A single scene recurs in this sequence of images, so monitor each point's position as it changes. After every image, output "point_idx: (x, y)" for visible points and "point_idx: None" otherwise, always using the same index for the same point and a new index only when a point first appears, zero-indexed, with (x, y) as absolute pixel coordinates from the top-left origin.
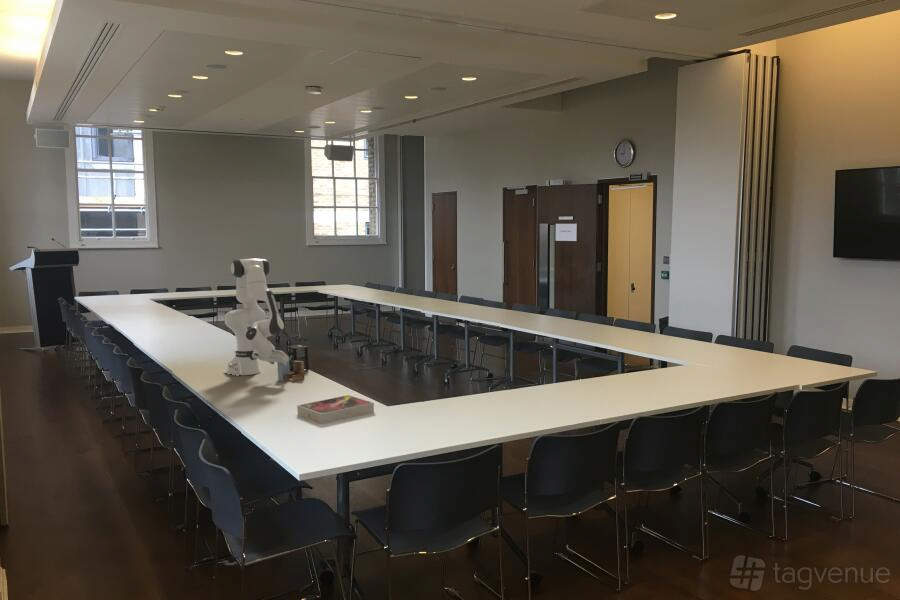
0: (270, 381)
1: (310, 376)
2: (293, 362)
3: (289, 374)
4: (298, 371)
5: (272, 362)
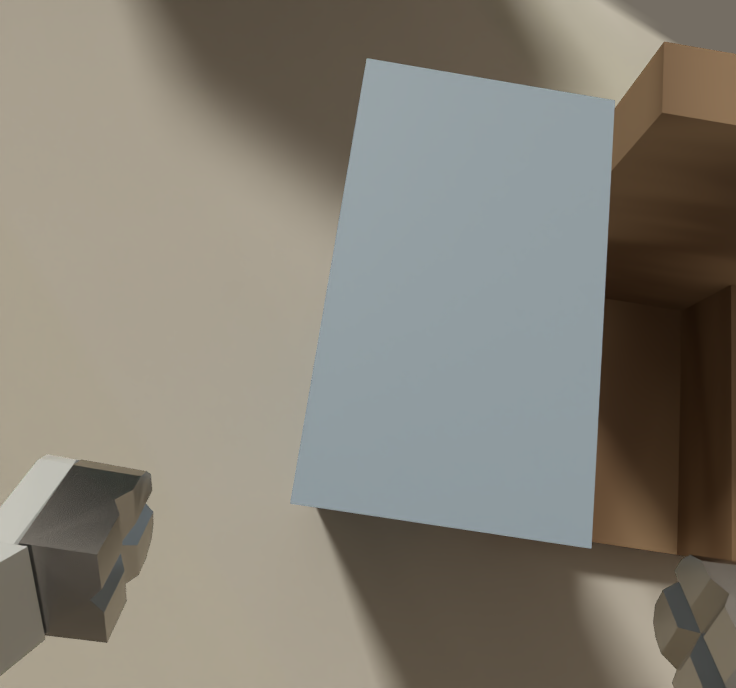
0: (235, 666)
1: None
2: (644, 137)
3: None
4: (679, 265)
5: (111, 606)
